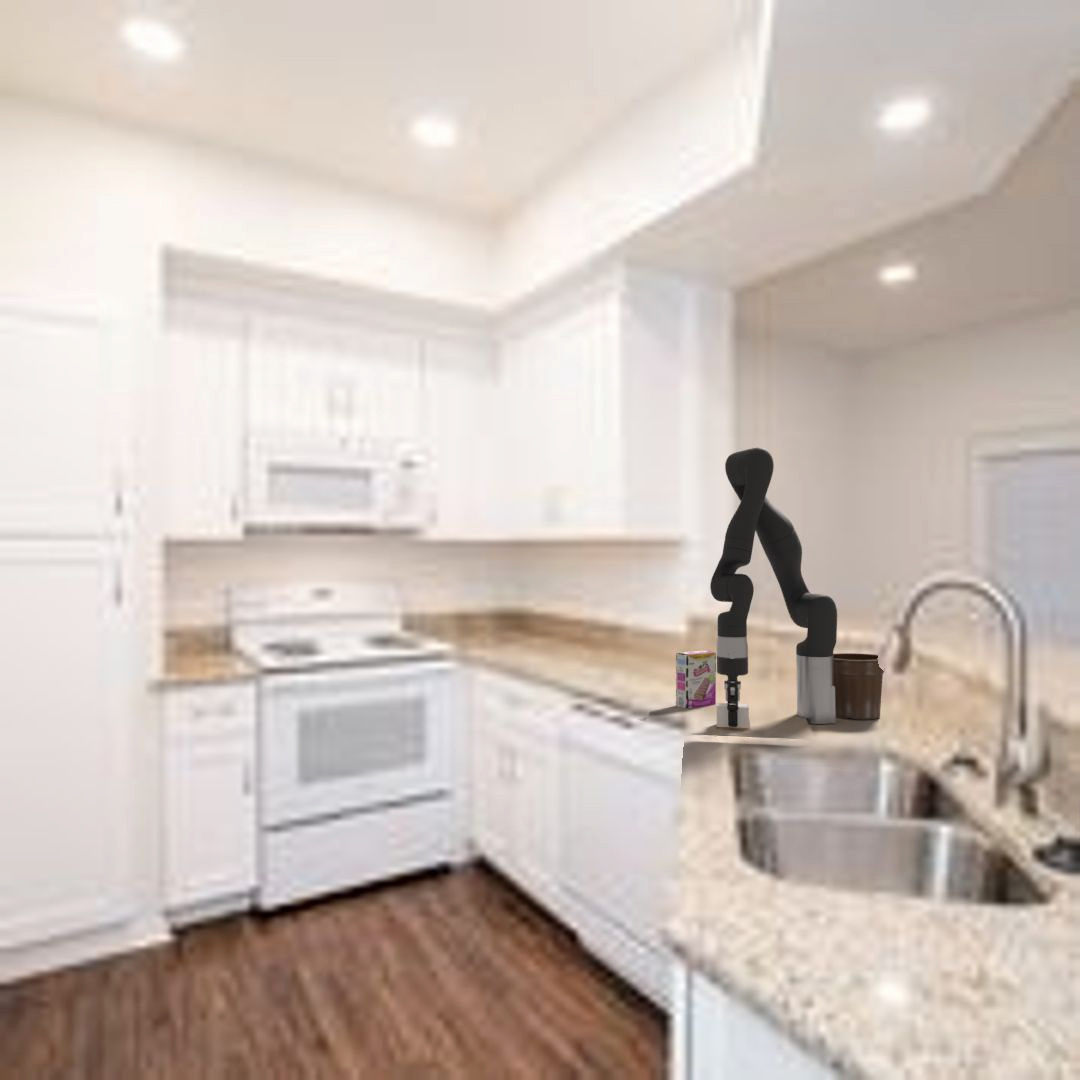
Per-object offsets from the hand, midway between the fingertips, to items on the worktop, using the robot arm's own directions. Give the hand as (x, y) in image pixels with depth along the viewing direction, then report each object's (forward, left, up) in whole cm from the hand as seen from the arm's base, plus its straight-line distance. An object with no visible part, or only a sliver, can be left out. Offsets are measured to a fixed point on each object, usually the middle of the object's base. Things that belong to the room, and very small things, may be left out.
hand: (732, 723), depth 198 cm
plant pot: (-32, -27, -2) cm, 42 cm away
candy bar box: (+10, -27, -2) cm, 29 cm away
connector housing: (0, 0, 0) cm, 0 cm away
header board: (0, -6, -2) cm, 6 cm away
